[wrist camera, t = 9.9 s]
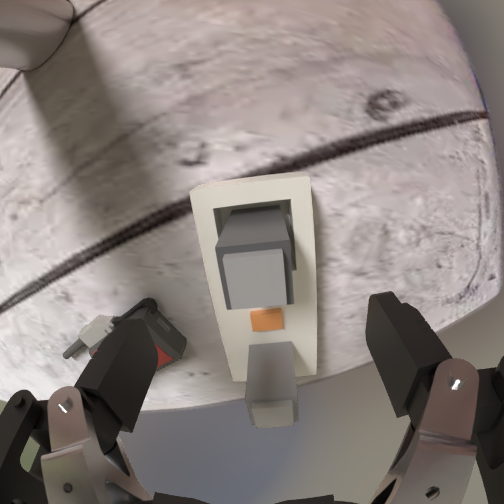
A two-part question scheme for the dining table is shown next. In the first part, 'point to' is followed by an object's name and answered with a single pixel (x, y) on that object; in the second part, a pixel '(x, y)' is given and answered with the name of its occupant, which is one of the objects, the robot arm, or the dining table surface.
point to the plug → (255, 259)
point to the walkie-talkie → (159, 327)
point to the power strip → (265, 318)
